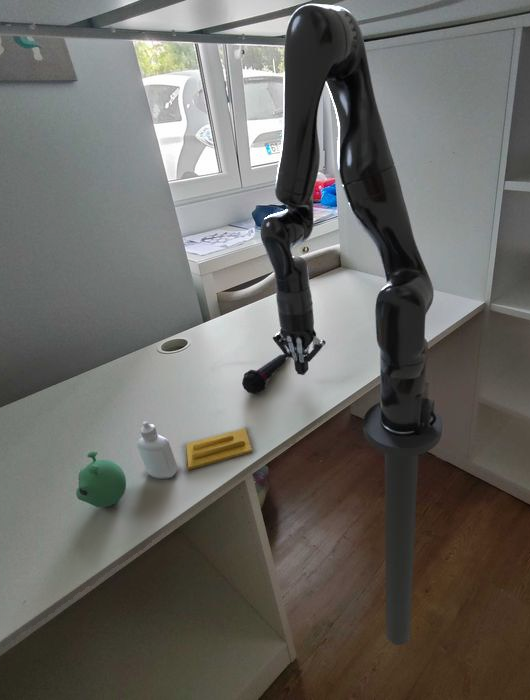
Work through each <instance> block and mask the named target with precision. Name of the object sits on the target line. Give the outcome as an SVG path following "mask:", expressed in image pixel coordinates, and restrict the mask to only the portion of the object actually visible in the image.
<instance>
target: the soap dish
mask: <svg viewBox="0 0 530 700" xmlns="http://www.w3.org/2000/svg"><path fill="white" fill-rule="evenodd" d="M248 434H249V433H248V432H247V428H246V427H245V428H240V429H237V430H233V431H229V432H226V433H222V434H219V435H215V436H210V437H207V438H203V439H199V440H195V441H192V442H188V443H186V444H185V446H186V447H185V448H186V456H187V458H186V459H187V469H188V470H194V469H197V468H200V467H204V466H208V465H211V464H215V463H219V462H221V461H225V460H229V459H231V458H235V457H239V456H242V455H246V454H251V453H253V450H252V445H251V442H250V439H249V435H248Z"/></svg>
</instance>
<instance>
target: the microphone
mask: <svg viewBox="0 0 530 700" xmlns="http://www.w3.org/2000/svg"><path fill="white" fill-rule="evenodd" d="M287 358H288V357H287V356H286V355H285V354H284V353H283V354H279V355H277V356H276V357H274V358H273V359H272V360H270V361H268V362H267V363H266V364H264V365H262V367H260V368H258V369H257V370H255V369H250V370H248V371H246V372H245V373H244V374H243V378H242V382H241V385H242V387H243V389H244V390H245V391H246V392H247V393H248V394H249V393H250V394H259V393H261V392H263V391H264V390H265V389H266V385H267V381H268V380H270V379H271V378H272V377H273V375H274V374H275V373H276V372H277V370H279V369H280V367H282V366H283V365H284V364H285V363H286V361H287Z"/></svg>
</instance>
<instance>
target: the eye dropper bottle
mask: <svg viewBox="0 0 530 700" xmlns="http://www.w3.org/2000/svg"><path fill="white" fill-rule="evenodd" d="M142 423H143V426H141V428H140V435H141V437H140V438H139V440H138V441H137V443H136V445H137V449H138V451H139V454H140V458H141V460H142V462H143V465H144V468H145V470H146V473H147V474H148V475H149V476H151V477H153V478H154V479H155V478H156V479H171V478H173V477H174V476H175V475H176V473H177V472H178V470H179V468H178V465H177V462H176V458H175V455H174V453H173V450H172V446H171V443H170V442H169V440H168V439H167V438H166V437H164V436H162V435H160V434H158V432H157V428H156V426H155V425H154V424H152V423H149V422H148V421H147V420H144V421H143V422H142Z"/></svg>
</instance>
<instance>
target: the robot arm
mask: <svg viewBox="0 0 530 700" xmlns="http://www.w3.org/2000/svg"><path fill="white" fill-rule="evenodd" d="M283 49H284V50H283V114H282V115H283V117H282V118H283V120H282V137H281V138H282V139H281V148H280V154H279V155H280V156H279V162H278V167H277V174H276V181H275V187H274V190H275V191H274V194H275V197H276V199H277V200H278V202H279V203H281V204H283V205H284V206H286V209H285V210H283V211H280V212H277V213H273V214H270V215H268V216H267V217H265V218H264V219H263V220H262V223H261V226H260V240H261V243H262V245H263V248H264V250H265V253H266V255H267V257H268V260H269V262H270V264H271V266H272V269H273V273H274V281H275V289H276V293H275V294H276V296H275V299H276V307H277V313H278V315H277V316H278V321H279V327H280V330H279V331H278V332H277V333H275V335H273V337H272V340H273V341H274V342H275V344H276V345H277V347H278V348H279V349H280V350H281V351H282V353H283V354H285V355H286V356H287V358H291V359H292V360H293V363H294V371H295V372H296V374H297V375H300V376H305V374H306V373H307V372H308V371H309V370H310V369H309V363H310V362H311V361H312V360H313V358H315V357H316V356H317V355H318V353H319V352H320V351H321V350H322V349H323V347H324V346H325V345H326V340H325V339H321V340H320V338H319V337H317V333H316V331H315V328H314V327H315V319H314V317H315V316H314V305H313V304H314V303H313V296H312V290H311V287H310V285H311V284H310V276H309V267H308V266H309V265H308V263H307V261H306V259H305V258H304V257H301V256H297V255H293V253H292V248H295V247H297V246H299V245H302V244H304V243H305V242H307V241H308V240H309V238H310V237H311V235H312V233H313V230H314V223H315V222H314V219H315V218H314V200H313V199H314V198H313V197H314V192H315V188H316V184H317V179H318V176H319V169H320V164H321V148H320V141H319V140H320V139H319V132H318V112H319V107H320V101H321V98H322V95H323V91H324V89H325V86H327V88H328V91H329V94H330V98H331V100H332V103H333V107H334V110H335V114H336V119H337V127H338V128H337V129H338V130H337V131H338V137H337V139H338V140H337V168H338V174H339V179H340V183H341V185H342V188H343V191H344V195H345V197H346V201H347V204H348V206H349V209H350V211H351V213H352V216H353V217H354V219H355V220H356V222H357V223H358V225H359V226H360V228H361V229H362V230H363V232H364V233H365V235H366V236H367V237H368V238H369V239H370V241H371V243H372V244H373V245H374V247H375V250H376V251H377V254H378V256H379V258H380V261H381V265H382V269H383V273H384V278H385V281H386V282H385V285H384V286H382V287H381V289H380V290H379V291H378V294H377V295H376V298H375V304H374V305H375V306H374V319H375V321H374V322H375V335H376V337H375V338H376V343H377V346H378V348H379V360H380V361H379V362H380V363H379V366H380V367H379V371H380V372H379V375H380V380H379V381H380V383H379V384H380V401H379V402H380V403H379V402H378V403H379V409H380V408H381V417H380V422H381V425H382V427H383V428H384V429H385V430H386V431H387V432H389V433H391V434H394V435H398V436H409V435H420V432H421V430H422V428H423V427H424V424H425V423H426V424H429V421H430V419H431V417H433V420H432V421H431V422H430V425H431V426H432V425H433V424H434V423H435V422H436V415H435V414H434V410H435V399H431V398H429V387H430V386H429V385H430V383H429V382H427V371H428V370H427V369H428V353H429V343H428V340H427V339H426V337H425V336H426V316H427V313H428V311H429V310H430V308H431V306H432V304H433V301H434V295H435V292H434V286H433V283H432V280H431V277H430V275H429V273H428V270H427V268H426V266H425V263H424V261H423V258H422V255H421V253H420V251H419V248H418V245H417V242H416V240H415V236H414V233H413V232H414V231H413V228H412V224H411V220H410V215H409V212H408V208H407V205H406V202H405V197H404V194H403V190H402V185H401V182H400V178H399V175H398V171H397V168H396V167H397V166H396V165H395V162H394V158H393V156H392V153H391V148H390V145H389V142H388V139H387V135H386V132H385V131H386V130H385V127H384V124H383V121H382V118H381V114H380V111H379V108H378V104H377V101H376V97H375V92H374V87H373V81H372V78H371V77H372V76H371V71H370V66H369V61H368V56H367V55H368V54H367V50H366V45H365V41H364V36H363V32H362V29H361V27H360V25H359V22H358V20H357V19H356V18H355V16H354V15H353V13H351V12H350V11H349V10H348V9H346V8H344V7H342V6H339V5H332V4H320V3H308V4H305V5H302V6H300V7H298V8H297V9H295V11H294V12H293V13H292V15H291V17H290V19H289V20H288V23H287V27H286V30H285V38H284V48H283ZM311 344H312V349H311V351H310V346H311ZM309 351H310V352H309Z"/></svg>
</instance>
